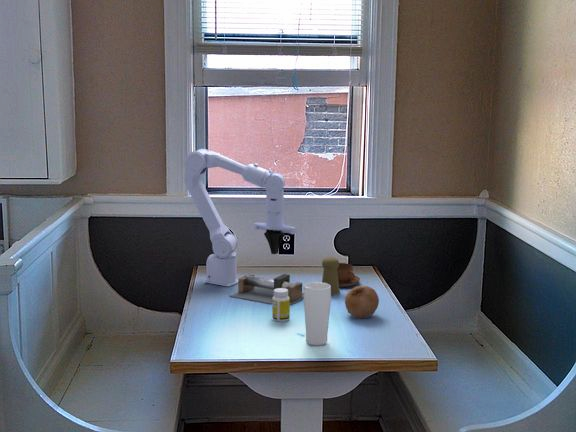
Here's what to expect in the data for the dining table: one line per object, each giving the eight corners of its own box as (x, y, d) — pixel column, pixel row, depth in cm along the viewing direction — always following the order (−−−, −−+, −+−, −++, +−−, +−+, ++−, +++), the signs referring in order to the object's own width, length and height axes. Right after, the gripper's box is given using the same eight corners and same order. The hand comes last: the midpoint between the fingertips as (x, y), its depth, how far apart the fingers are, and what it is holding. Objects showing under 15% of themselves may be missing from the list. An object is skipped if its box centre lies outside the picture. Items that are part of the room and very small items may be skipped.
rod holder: (238, 292, 225) (238, 277, 224) (249, 287, 230) (249, 272, 229) (291, 302, 216) (291, 286, 215) (302, 297, 221) (302, 281, 220)
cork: (340, 290, 230) (340, 256, 228) (339, 295, 224) (340, 260, 222) (320, 289, 230) (321, 255, 228) (319, 294, 225) (320, 260, 223)
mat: (229, 296, 222) (229, 295, 222) (254, 285, 234) (254, 284, 234) (286, 307, 212) (286, 306, 212) (309, 295, 224) (309, 294, 224)
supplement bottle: (291, 317, 203) (292, 288, 202) (286, 322, 199) (286, 293, 197) (275, 315, 205) (275, 286, 203) (269, 320, 200) (269, 291, 199)
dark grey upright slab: (273, 297, 219) (273, 278, 218) (283, 292, 224) (284, 273, 223) (279, 298, 218) (279, 279, 217) (289, 293, 223) (289, 274, 222)
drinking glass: (301, 338, 187) (302, 282, 184) (328, 337, 188) (329, 281, 185) (304, 348, 180) (305, 289, 178) (331, 347, 181) (333, 289, 178)
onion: (358, 331, 202) (351, 304, 196) (342, 312, 209) (335, 286, 204) (387, 316, 204) (382, 289, 198) (370, 298, 212) (365, 272, 206)
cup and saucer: (365, 282, 239) (366, 264, 238) (348, 291, 229) (349, 272, 228) (333, 277, 245) (334, 259, 244) (315, 285, 235) (316, 267, 234)
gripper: (248, 211, 231) (248, 253, 233) (288, 215, 223) (288, 259, 226) (260, 208, 237) (260, 248, 239) (299, 212, 229) (299, 254, 232)
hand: (274, 253), depth 233 cm, fingers closed
